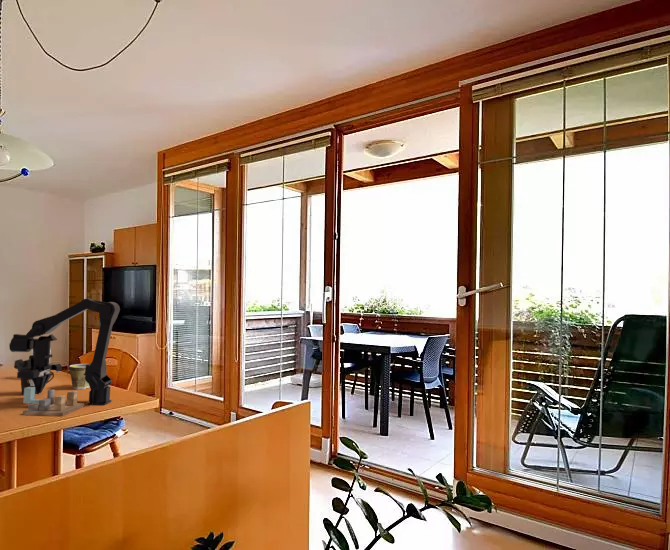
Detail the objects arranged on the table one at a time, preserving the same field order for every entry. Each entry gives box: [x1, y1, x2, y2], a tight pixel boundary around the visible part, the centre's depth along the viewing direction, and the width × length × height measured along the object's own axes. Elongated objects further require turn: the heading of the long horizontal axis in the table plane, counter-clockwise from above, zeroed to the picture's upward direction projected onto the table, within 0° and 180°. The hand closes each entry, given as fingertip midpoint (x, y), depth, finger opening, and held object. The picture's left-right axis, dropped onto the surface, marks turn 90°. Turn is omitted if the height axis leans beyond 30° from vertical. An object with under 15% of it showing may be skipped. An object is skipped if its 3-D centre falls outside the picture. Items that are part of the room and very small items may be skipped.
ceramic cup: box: [68, 363, 90, 390], centre depth 211 cm, size 13×10×10 cm
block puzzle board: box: [22, 388, 85, 417], centre depth 171 cm, size 14×14×6 cm
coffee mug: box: [20, 370, 55, 396], centre depth 196 cm, size 12×9×10 cm
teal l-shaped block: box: [22, 387, 43, 405], centre depth 175 cm, size 7×2×6 cm, turn 90°
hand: (39, 393), depth 181 cm, fingers closed
